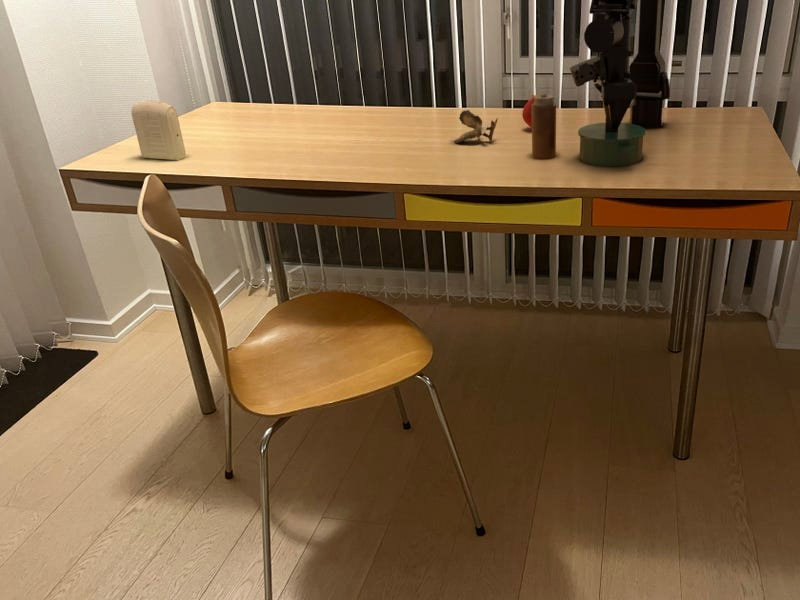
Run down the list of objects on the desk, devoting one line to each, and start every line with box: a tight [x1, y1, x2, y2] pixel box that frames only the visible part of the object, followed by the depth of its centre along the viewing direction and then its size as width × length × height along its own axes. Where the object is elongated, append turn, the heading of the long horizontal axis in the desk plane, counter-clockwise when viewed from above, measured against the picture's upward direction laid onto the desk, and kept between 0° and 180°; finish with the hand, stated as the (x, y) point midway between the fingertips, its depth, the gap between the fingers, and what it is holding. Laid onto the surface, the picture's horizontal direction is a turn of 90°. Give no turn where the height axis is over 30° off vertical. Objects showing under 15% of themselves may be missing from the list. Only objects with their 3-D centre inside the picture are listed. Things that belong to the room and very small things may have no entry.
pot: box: [579, 136, 644, 167], centre depth 164 cm, size 13×18×5 cm
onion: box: [521, 94, 536, 129], centre depth 185 cm, size 6×6×8 cm
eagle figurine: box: [453, 109, 499, 144], centre depth 179 cm, size 8×7×9 cm
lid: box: [577, 105, 646, 142], centre depth 162 cm, size 14×14×6 cm
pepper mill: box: [531, 93, 557, 160], centre depth 166 cm, size 5×5×13 cm
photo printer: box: [130, 100, 187, 161], centre depth 177 cm, size 10×4×12 cm, turn 73°
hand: (611, 125), depth 162 cm, fingers open, 7 cm apart
